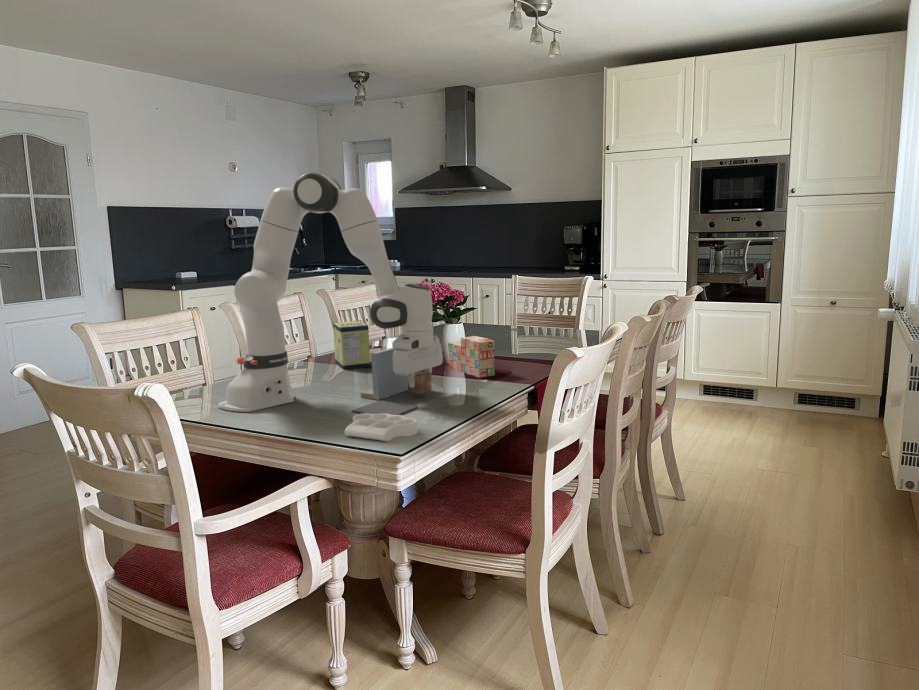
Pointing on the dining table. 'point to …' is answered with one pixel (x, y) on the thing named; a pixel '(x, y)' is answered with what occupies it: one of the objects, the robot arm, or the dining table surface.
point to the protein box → (351, 344)
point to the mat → (385, 408)
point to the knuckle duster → (381, 426)
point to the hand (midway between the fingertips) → (419, 384)
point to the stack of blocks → (473, 356)
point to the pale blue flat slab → (384, 376)
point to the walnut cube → (421, 382)
